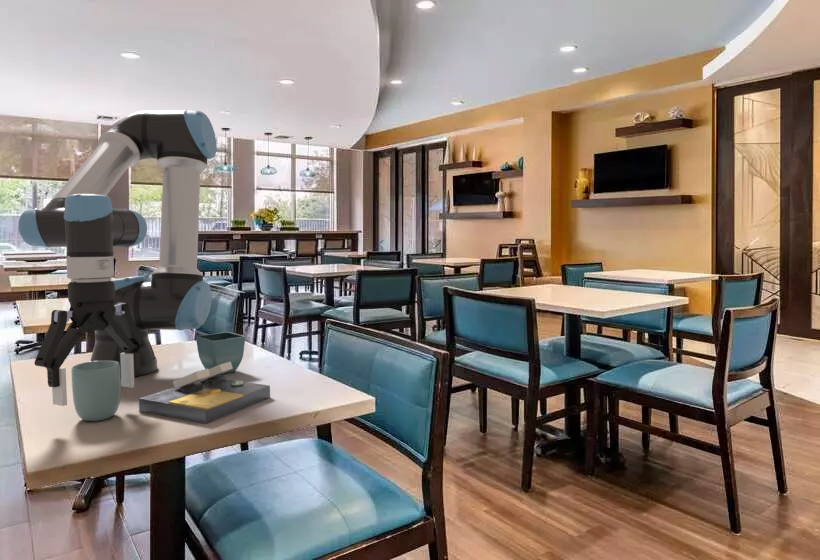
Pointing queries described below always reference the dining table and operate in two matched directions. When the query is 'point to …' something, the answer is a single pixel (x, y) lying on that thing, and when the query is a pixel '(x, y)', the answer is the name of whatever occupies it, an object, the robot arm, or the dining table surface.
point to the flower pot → (220, 349)
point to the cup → (96, 389)
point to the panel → (204, 399)
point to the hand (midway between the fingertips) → (95, 395)
